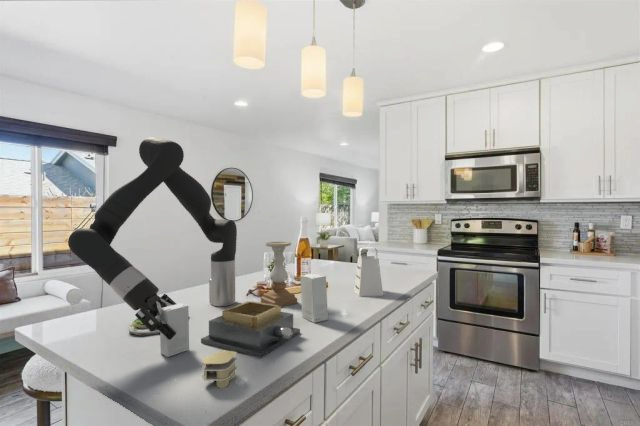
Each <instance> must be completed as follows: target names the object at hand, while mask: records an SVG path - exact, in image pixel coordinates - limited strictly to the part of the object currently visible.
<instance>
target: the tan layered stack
mask: <svg viewBox="0 0 640 426" xmlns="http://www.w3.org/2000/svg"><path fill="white" fill-rule="evenodd" d="M237 353H238V352H236V351H232V350H227V349H221V350H219V351H217V352H214V353H213V354H211V355H208V356H206V357H205V358H203V359H201V362H202V363H203V365H201V368H202V370H203V374H202V375H201V377H202V379H203V381H208V382H209V381H211V382H213V381H214V382H215V381H216V387H218V388H225V387H227V386H228V385H229V384H230V381H231V380H232V379H233V378H235V376H237V375H236V370H237V369H238V366H236V361H237V360H238V357H237V356H236V354H237ZM235 356H236V357H235Z"/></svg>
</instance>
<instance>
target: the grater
mask: <svg viewBox="0 0 640 426" xmlns="http://www.w3.org/2000/svg"><path fill="white" fill-rule="evenodd" d="M363 249H374V255H369V256H365V255H364V256H362V250H363ZM354 279H355V281H354V287H353V288H354V289H353V290H354V292H355V293H356V294H357V296H358V297H379V296H380V297H381V296H382V297H383V296H384V292H383V282H382V276H381V267H380V258H378V250H377V248H375V247H374V246H373V247H370V246H369V247H366V246H365V247H360V248H359V249H358V256H357V264H356V271H355V278H354Z"/></svg>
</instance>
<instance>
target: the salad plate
mask: <svg viewBox="0 0 640 426" xmlns="http://www.w3.org/2000/svg"><path fill="white" fill-rule="evenodd" d="M149 323H150V321H149ZM150 324H151V323H150ZM151 325H153V324H151ZM138 329H148V328H147V327H146V326H145V325H144V324H143V323H142V322H141V321H140V320H139V319H138V318H137V317H136V318H134V319H132V320H131V321H130V322H129V327H128V332H129V333H131V334H133V335H136V336H152V335H160V331H159V330H158V331H157V330H154V331H150V330H149V331H140V330H138Z"/></svg>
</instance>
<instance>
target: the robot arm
mask: <svg viewBox="0 0 640 426" xmlns="http://www.w3.org/2000/svg"><path fill="white" fill-rule="evenodd" d="M138 154H139V156H140V160H141V161H142V163H143V164H144V165H145V166H146V167H147V168H146V169H144V171H143V172H142V173H140V174H139V175H138V176H137V177H135V178H133V179H131V180H130V181H129V182H127V183H125V184H123V185H122V186H121V187H118V188H117V189H116V190H114V191H113V192H112V193H111V194H110V195H109V196H108V197H107V199H106V200H105V201H104V202H103V203H102V204H101V206H100V207H98V209H97V210H96V212H95V214H94V221H93V223H92V224H91V225H90V227H82V228H77V229H76V230H74V231H72V233H71V234H70V235H69V237H68V240H67V244H68V248H69V250H70V251H71V252H72V253H73V254H74V255H75V256H77V258H79V259H80V261H82V262H83V263H85V264H86V265H87V266H89V268H91V269H93V270H94V272H95V273H96V274H97V275H98V276H99V277H100V278H101V279H102V280H103V281H104V283H106V284H108V286H109V287H110V288H111V289H112V290H113V292H114V293H115V294H116V295H117V296H118V297H119V298H120V299H122V300H123V301H124V302H125V303H126V304H127V305H128V307H130V308H131V309H132V310H133V311H137V312H136V313H135V317H136V318H138V319H139V320H140V321H141V322H142V323H143V324H144V325H145V326H146V327H147V328H146V329H147V330H149V331H154V330H157V331H158V330H159V331H160V332H161V333H162V334H163V335H164V336H165V337H167V338H168V339H169V340H170V339H172V338H173V337H174V336H175V335H176V332H175V331H174V330H173V329H172V328H171V327H170V326H169V325H168V324H167V323H166V324H165V321H164V319H163V316H164V314H163V312H162V309H161V308H163V307H167V306H171V305H176V304H177V303H176V302H175V301H174V300H173V299H172V298H171V297H169V295H168V294H167V293H164V294H163V295H161V296H159V295H158V293H159V291H160V290H159V288H158V287H157V286H156V285H155V284H154V283H153V282H152V281H151V280H150V278H148V277H147V276H146V275H145V274H144V273H143V272H142V271H140V270H139V269H138V268H136V267H135V265H133V264H132V263H131V262H130V261H129V260H128V259H126V258H125V257H124V256H123V255H122V254H120V253H119V252H118V251H116V250H115V249H114V248H113V247H112V245H111V244H112V243H113V241H114V239H115V237H116V236H117V233H119V230H120V228H121V227H122V226H123V225H124V224H125V223H126V222H127V220H128V219H129V218H130V216H131V215H132V214H133V213H134V212H135V210H136V209H137V208H138V207H139V205H140V204H141V203H143V201H144V200H145V199H146V198H147V197H148V196H149V195H150V194H151V193H153V191H155V190H156V189H157V188H159V186H160V185H162V183H163V184H165V186H166V187H167V189H169V191H170V192H171V193H172V194H173V196H174V197H175V198H176V200H177V201H178V202H179V203H180V205H181V206H183V208H184V209H185V210H186V211H187V212H188V213H189V215H190V216H191V218H193V219H194V221H195V222H196V224H197V225H198V226H199V228H200V230H201V231H202V232H203V234H204V236H205V237H206V238H207V240H208V241H209V242H211V243H215V244H220V243H221V244H222V247H221V249H219V250H216V251H213V252H212V253H211V254H210V279H208V282H209V283H208V286H209V287H208V289H209V290H208V291H209V292H208V293H209V294H208V295H209V297H208V299H209V303H208V304H210V305H212V306H213V307H226V306H232V305H234V304H235V303H236V254H237V239H238V238H237V236H238V233H237V231H238V230H237V228H238V227H237V224H236V222H235V221H234V220H232V219H216V218H214V217H213V215H212V214H211V213H210V212H211V206H212V199H211V196H210V194H209V193H208V192H207V190H206V189H205V188H204V186H203V185H202V184H201V183H200V182H199V181H198V180H196V178H195V177H193V176H191V175H190V173H188V172H186V171H185V170H183V169H182V167H180V166H182V164H183V161H184V158H185V157H184V156H185V153H184V149H183V148H182V146H181V145H180V144H179V143H178V142H176V141H173V140H169V139H165V138H160V137H146V138H145V139H143V140H142V141H141V142H140V144H139V148H138ZM149 321H150V323H151V324H153V325H151V324H150V323H149Z"/></svg>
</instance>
